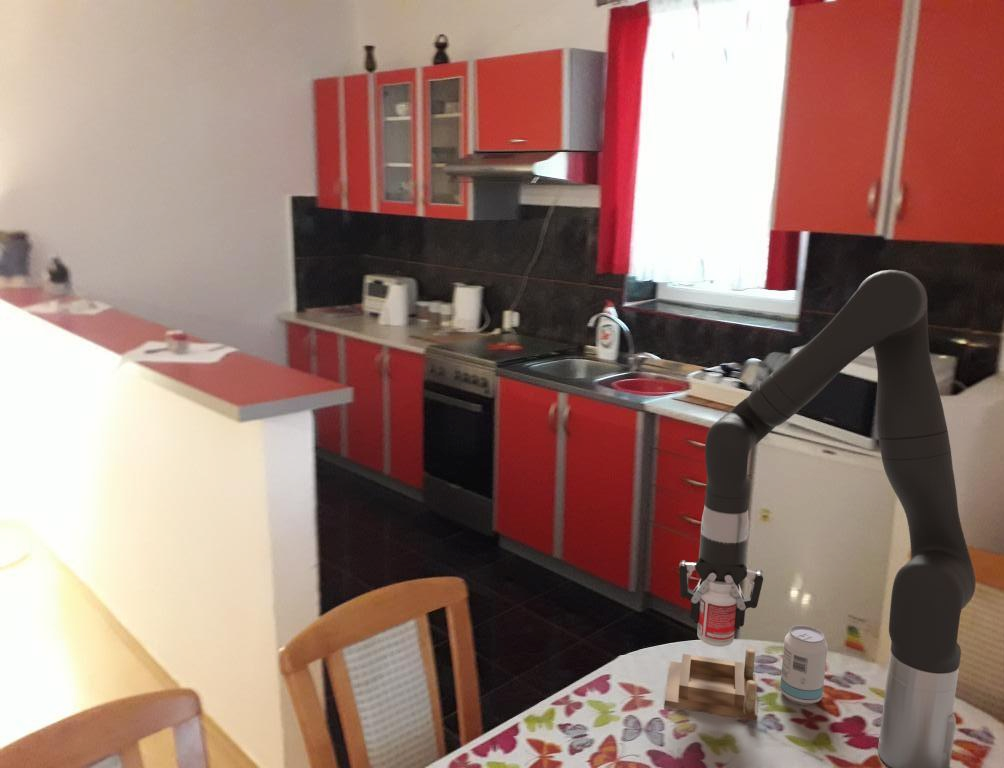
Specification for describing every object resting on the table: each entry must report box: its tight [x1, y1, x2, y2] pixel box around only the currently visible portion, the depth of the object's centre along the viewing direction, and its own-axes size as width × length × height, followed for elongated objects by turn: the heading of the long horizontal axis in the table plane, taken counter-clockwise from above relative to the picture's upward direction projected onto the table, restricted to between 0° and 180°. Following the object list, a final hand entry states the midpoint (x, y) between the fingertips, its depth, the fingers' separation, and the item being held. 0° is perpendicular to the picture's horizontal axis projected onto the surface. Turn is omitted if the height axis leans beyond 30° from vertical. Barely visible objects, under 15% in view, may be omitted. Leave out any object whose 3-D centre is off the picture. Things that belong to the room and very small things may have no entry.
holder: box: [663, 648, 758, 722], centre depth 143 cm, size 15×13×6 cm
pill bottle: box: [696, 581, 737, 647], centre depth 141 cm, size 6×6×11 cm
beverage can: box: [779, 624, 829, 706], centre depth 142 cm, size 7×7×12 cm
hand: (716, 623), depth 141 cm, fingers closed on pill bottle, 6 cm apart
